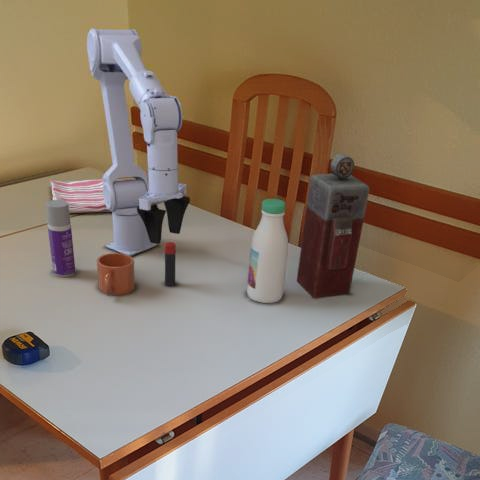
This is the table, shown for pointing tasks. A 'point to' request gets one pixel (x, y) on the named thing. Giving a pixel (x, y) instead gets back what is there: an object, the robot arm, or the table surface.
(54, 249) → the container
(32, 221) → the table surface
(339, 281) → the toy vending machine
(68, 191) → the dish towel
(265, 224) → the milk bottle
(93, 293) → the table surface
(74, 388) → the table surface
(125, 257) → the orange coffee mug
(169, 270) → the marker
